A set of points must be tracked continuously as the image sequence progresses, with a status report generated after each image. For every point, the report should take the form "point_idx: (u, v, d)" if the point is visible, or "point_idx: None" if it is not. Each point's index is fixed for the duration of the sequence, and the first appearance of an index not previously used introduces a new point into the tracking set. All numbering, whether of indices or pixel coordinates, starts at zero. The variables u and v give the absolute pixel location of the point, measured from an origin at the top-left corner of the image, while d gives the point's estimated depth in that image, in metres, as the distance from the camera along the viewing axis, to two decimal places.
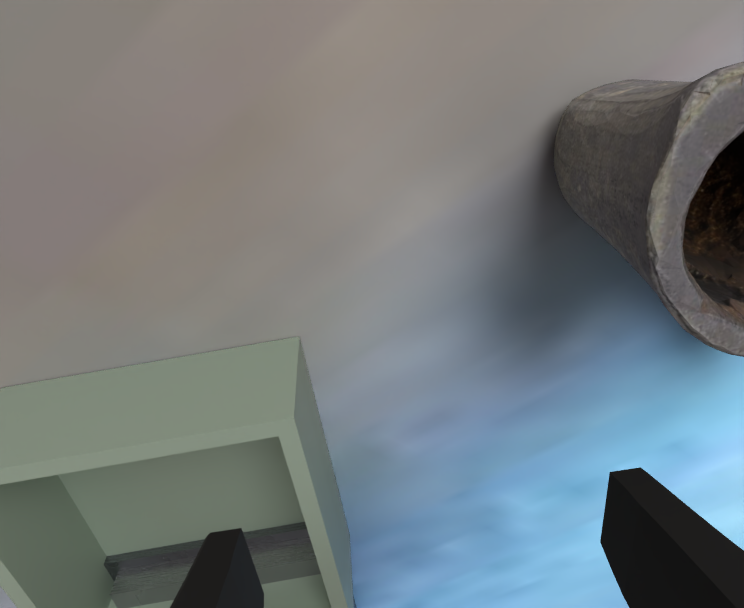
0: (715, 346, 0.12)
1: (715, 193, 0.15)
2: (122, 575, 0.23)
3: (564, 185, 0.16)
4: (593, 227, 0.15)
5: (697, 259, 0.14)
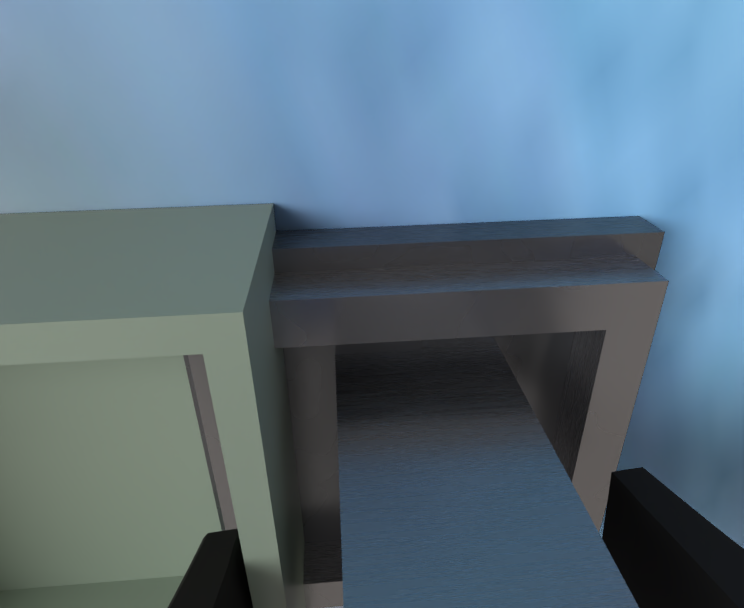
0: None
1: None
2: None
3: None
4: None
5: None
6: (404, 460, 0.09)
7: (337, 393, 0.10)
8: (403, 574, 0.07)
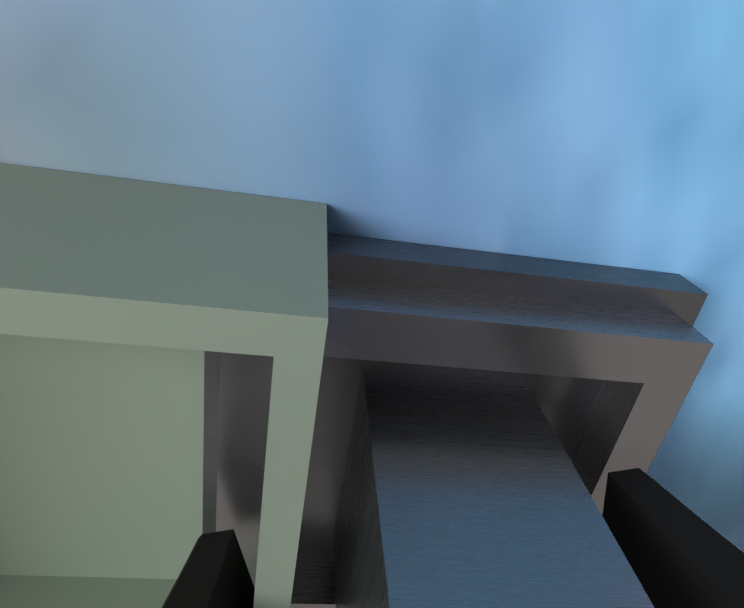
0: None
1: None
2: None
3: None
4: None
5: None
6: (443, 492, 0.08)
7: (368, 411, 0.10)
8: None
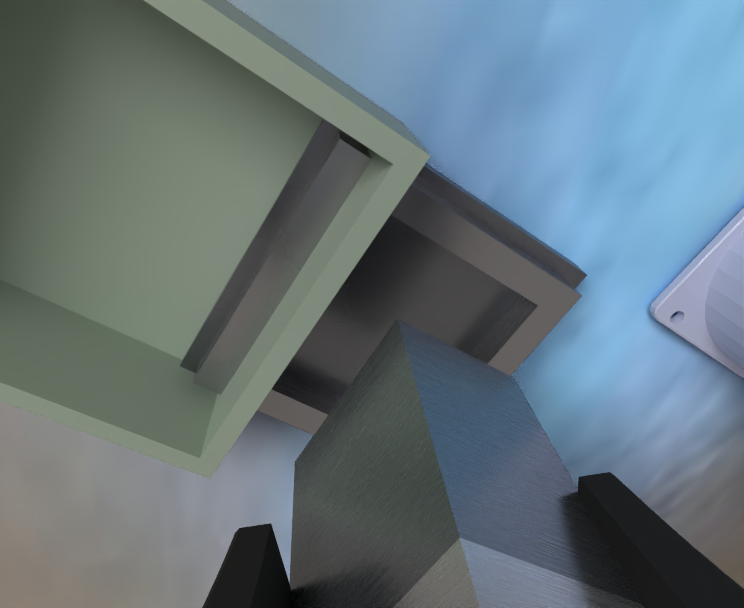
0: None
1: None
2: (201, 361, 0.18)
3: None
4: None
5: None
6: (469, 427, 0.10)
7: (406, 350, 0.11)
8: (489, 511, 0.08)
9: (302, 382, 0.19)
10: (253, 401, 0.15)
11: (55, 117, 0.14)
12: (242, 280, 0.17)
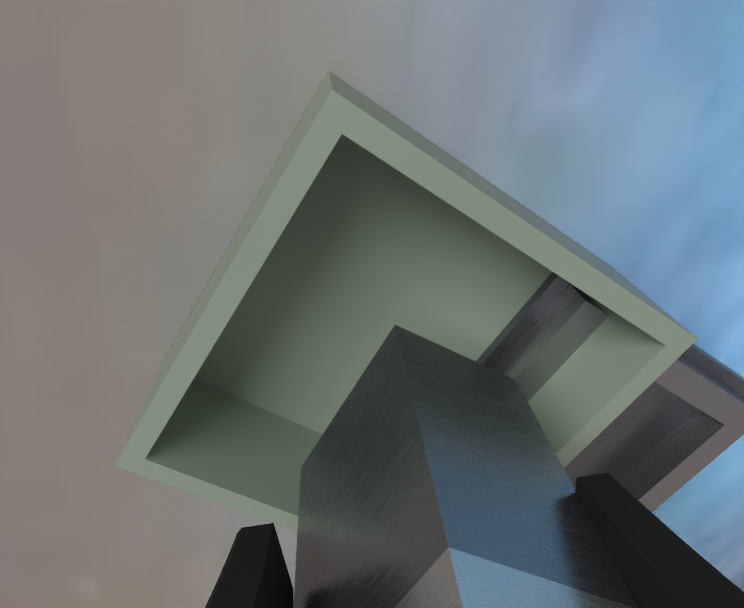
0: None
1: None
2: None
3: None
4: None
5: None
6: (464, 433, 0.10)
7: (403, 357, 0.11)
8: (481, 519, 0.08)
9: None
10: None
11: (327, 275, 0.16)
12: None
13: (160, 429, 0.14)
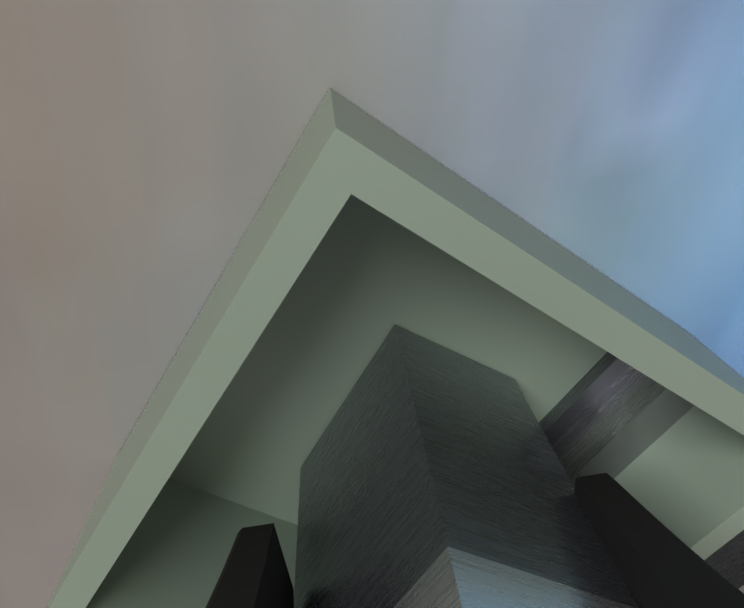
0: None
1: None
2: None
3: None
4: None
5: None
6: (464, 433, 0.10)
7: (403, 357, 0.11)
8: (481, 519, 0.08)
9: None
10: None
11: (327, 350, 0.13)
12: None
13: (97, 584, 0.10)
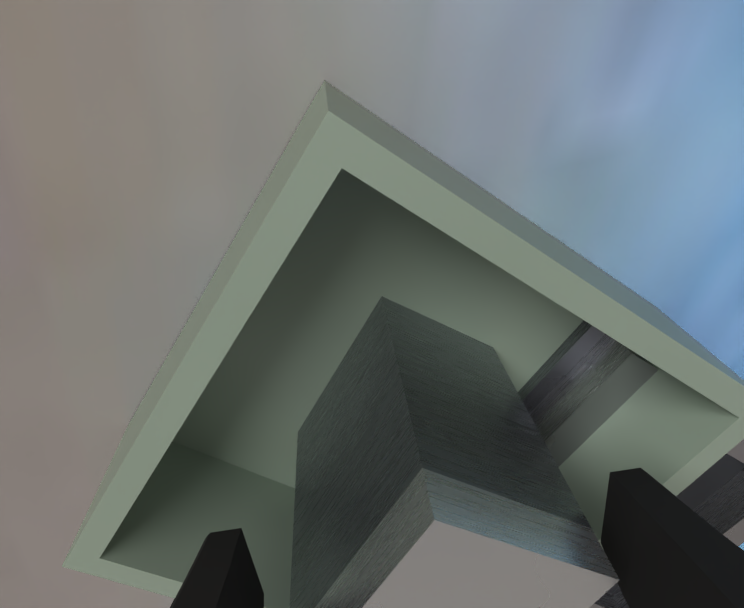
0: None
1: None
2: None
3: None
4: None
5: None
6: (442, 386, 0.11)
7: (388, 323, 0.12)
8: (453, 450, 0.09)
9: None
10: None
11: (322, 322, 0.14)
12: None
13: (117, 525, 0.11)
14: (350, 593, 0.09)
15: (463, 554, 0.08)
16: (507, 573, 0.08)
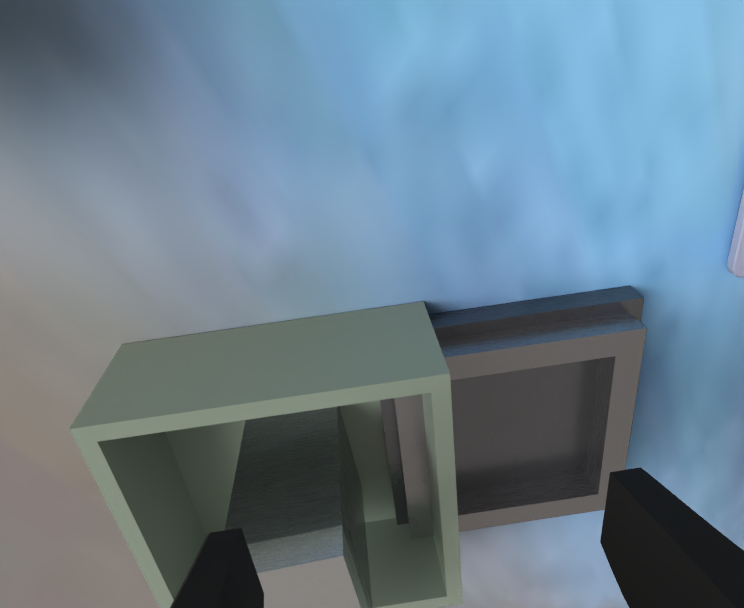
0: None
1: None
2: None
3: None
4: None
5: None
6: (265, 471, 0.18)
7: (242, 439, 0.19)
8: (250, 523, 0.16)
9: (482, 488, 0.23)
10: (453, 551, 0.19)
11: (232, 446, 0.21)
12: (396, 459, 0.22)
13: None
14: None
15: None
16: (281, 582, 0.15)
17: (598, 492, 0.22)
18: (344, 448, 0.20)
